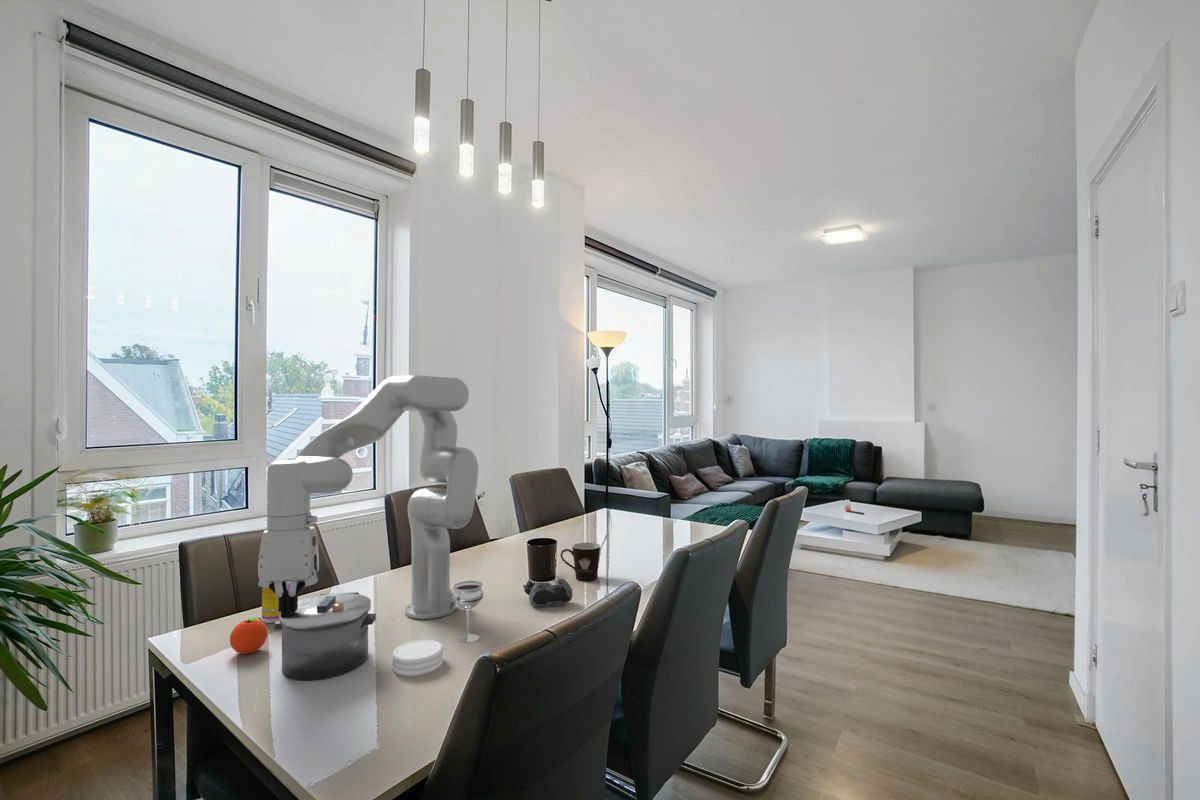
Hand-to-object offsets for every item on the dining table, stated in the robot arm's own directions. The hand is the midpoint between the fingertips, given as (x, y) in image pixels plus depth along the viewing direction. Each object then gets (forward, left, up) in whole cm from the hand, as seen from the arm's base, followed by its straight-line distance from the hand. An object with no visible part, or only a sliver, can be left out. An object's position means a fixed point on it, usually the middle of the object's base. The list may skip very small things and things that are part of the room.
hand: (288, 614), depth 112 cm
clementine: (+12, -12, -12) cm, 20 cm away
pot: (-6, -4, -11) cm, 13 cm away
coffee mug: (-65, -53, -12) cm, 84 cm away
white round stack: (-25, 0, -12) cm, 28 cm away
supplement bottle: (+14, -31, -12) cm, 35 cm away
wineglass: (-34, -12, -12) cm, 38 cm away
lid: (-6, -4, -1) cm, 7 cm away
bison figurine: (-53, -32, -12) cm, 64 cm away
